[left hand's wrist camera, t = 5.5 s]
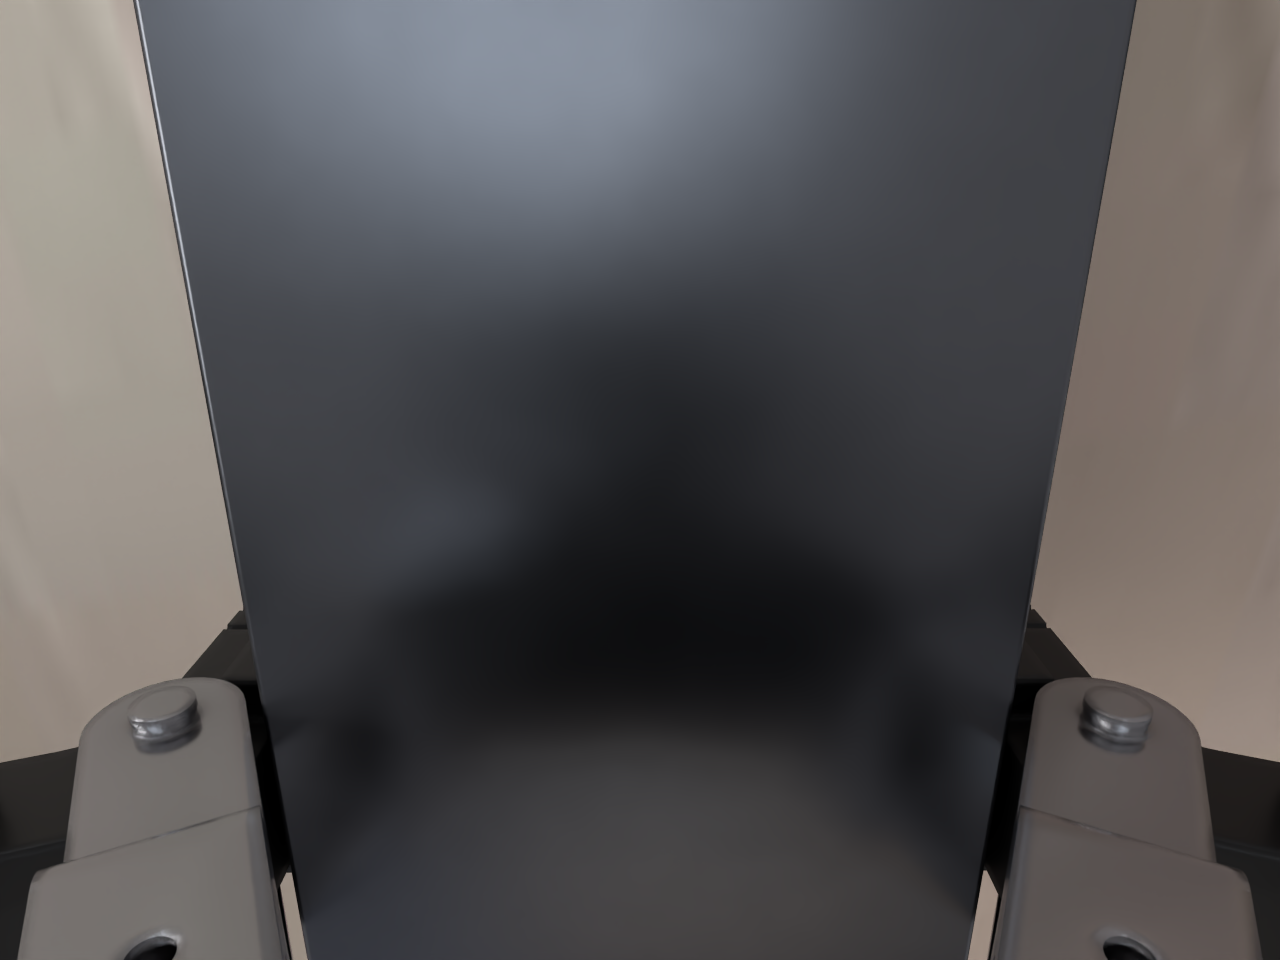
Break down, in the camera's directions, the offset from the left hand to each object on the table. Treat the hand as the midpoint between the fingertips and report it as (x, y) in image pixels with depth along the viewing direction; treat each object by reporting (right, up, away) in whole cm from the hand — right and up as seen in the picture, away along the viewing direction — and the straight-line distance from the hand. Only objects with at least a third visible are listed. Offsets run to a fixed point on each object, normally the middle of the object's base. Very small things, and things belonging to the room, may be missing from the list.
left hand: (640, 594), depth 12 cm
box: (0, +10, +4) cm, 11 cm away
